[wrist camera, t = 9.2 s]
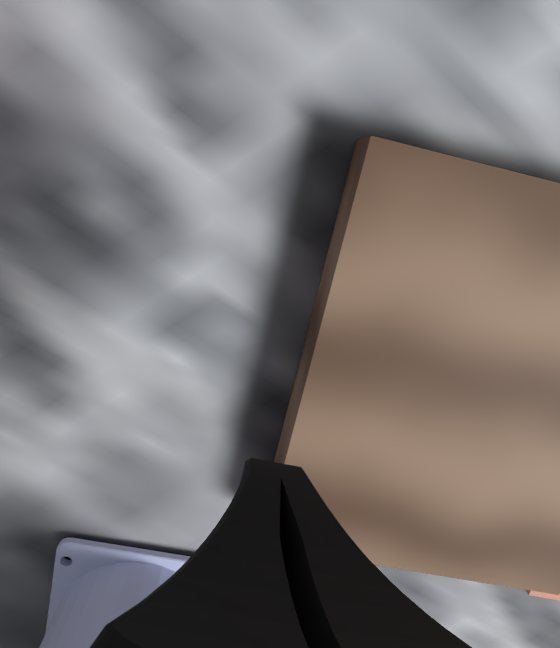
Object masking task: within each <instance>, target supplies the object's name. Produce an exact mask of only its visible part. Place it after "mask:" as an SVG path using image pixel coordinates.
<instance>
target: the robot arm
mask: <svg viewBox="0 0 560 648" xmlns="http://www.w3.org/2000/svg"><path fill="white" fill-rule="evenodd" d="M65 557H69V558H71V559H72V560H68V559H65ZM39 648H472V647H470V646H469V645H467V644H466V643H465V642H463V641H462V640H461V639H459V638H458V637H456V636H455V635H454V634H452V633H451V632H450V631H448V630H447V629H445V628H444V627H443V626H442V625H440V624H439V623H438V622H436V621H435V620H434V619H433V618H431V617H430V616H429V615H428V614H426V613H425V612H424V611H423V610H422V609H421V608H419V607H418V606H417V605H416V604H415V603H414V602H412V601H411V600H410V599H409V598H408V597H407V596H406V595H404V594H403V593H402V592H401V591H400V590H399V589H398V588H397V587H396V586H395V585H394V584H392V583H391V582H390V581H389V580H388V579H387V577H386V576H385V575H384V574H383V573H382V572H381V571H380V570H379V569H378V568H377V567H376V566H375V565H374V564H373V563H372V562H371V561H370V560H369V559H368V558H367V557H366V555H365V554H364V553H363V552H362V551H361V550H360V548H359V547H358V546H357V545H356V544H355V542H354V541H353V540H352V539H351V538H350V536H349V535H348V534H347V533H346V531H345V530H344V529H343V527H342V526H341V525H340V523H339V522H338V521H337V519H336V518H335V517H334V515H333V514H332V512H331V511H330V510H329V508H328V507H327V505H326V504H325V502H324V501H323V499H322V498H321V496H320V495H319V493H318V492H317V490H316V489H315V487H314V486H313V484H312V483H311V481H310V479H309V478H308V476H307V475H306V473H305V472H304V470H303V469H302V467H298V466H293V465H287V464H282V463H276V462H271V461H265V460H260V459H254V458H250V459H249V460H247V461H245V466H244V470H243V474H242V478H241V482H240V486H239V488H238V490H237V492H236V494H235V496H234V498H233V500H232V502H231V504H230V505H229V507H228V509H227V510H226V512H225V513H224V515H223V516H222V518H221V519H220V521H219V522H218V524H217V525H216V527H215V528H214V529H213V531H212V532H211V533H210V535H209V536H208V537H207V539H206V540H205V541H204V542H203V543H202V545H201V546H200V547H199V548H198V549H197V551H196V552H195V553H194V554H193V555H192V556H184V555H178V554H172V553H165V552H159V551H153V550H147V549H140V548H134V547H128V546H122V545H115V544H109V543H103V542H96V541H90V540H84V539H78V538H64V539H62V540H61V541H60V543H59V545H58V547H57V549H56V556H55V564H54V571H53V579H52V587H51V594H50V602H49V610H48V617H47V625H46V632H45V636H44V638H43V640H42V643H41V645H40V647H39Z"/></svg>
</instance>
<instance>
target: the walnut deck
mask: <svg viewBox="0 0 560 648" xmlns="http://www.w3.org/2000/svg"><path fill="white" fill-rule="evenodd" d="M274 462H276V463H282V464H287V465H293V466H298V467H302V469H303V470H304V472H305V473H306V475H307V476H308V478H309V479H310V481H311V483H312V484H313V486H314V487H315V489H316V490H317V492H318V493H319V495H320V496H321V498H322V499H323V501H324V502H325V504H326V505H327V507H328V508H329V510H330V511H331V512H332V514H333V515H334V517H335V518H336V519H337V521H338V522H339V523H340V525H341V526H342V527H343V529H344V530H345V531H346V533H347V534H348V535H349V536H350V538H351V539H352V540H353V541H354V542H355V544H356V545H357V546H358V547H359V548H360V550H361V551H362V552H363V553H364V554H365V555H366V557H367V558H368V559H369V560H370V561H371V562H372V563H373V564H374V565H378V566H384V567H390V568H396V569H402V570H409V571H415V572H421V573H427V574H433V575H439V576H445V577H451V578H457V579H464V580H470V581H476V582H482V583H488V584H494V585H500V586H506V587H512V588H519V589H525V590H531V591H537V592H543V593H549V594H555V595H559V594H560V183H557V182H553V181H549V180H545V179H542V178H538V177H534V176H530V175H526V174H522V173H518V172H514V171H510V170H506V169H502V168H498V167H494V166H490V165H486V164H482V163H478V162H474V161H470V160H466V159H462V158H458V157H454V156H450V155H446V154H442V153H439V152H435V151H431V150H427V149H423V148H419V147H415V146H411V145H407V144H403V143H399V142H395V141H391V140H387V139H383V138H379V137H375V136H367V137H363V138H360V139H357V140H356V144H355V148H354V152H353V156H352V160H351V164H350V167H349V171H348V175H347V179H346V183H345V187H344V191H343V195H342V199H341V202H340V206H339V210H338V214H337V218H336V222H335V226H334V230H333V234H332V237H331V241H330V245H329V249H328V253H327V257H326V261H325V265H324V269H323V273H322V276H321V280H320V284H319V288H318V292H317V296H316V300H315V304H314V308H313V311H312V315H311V319H310V323H309V327H308V331H307V335H306V339H305V343H304V346H303V350H302V354H301V358H300V362H299V366H298V370H297V374H296V378H295V381H294V385H293V389H292V393H291V397H290V401H289V405H288V409H287V413H286V416H285V420H284V424H283V428H282V432H281V436H280V440H279V444H278V448H277V451H276V455H275V459H274Z"/></svg>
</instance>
